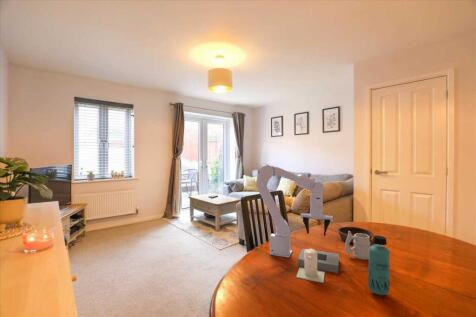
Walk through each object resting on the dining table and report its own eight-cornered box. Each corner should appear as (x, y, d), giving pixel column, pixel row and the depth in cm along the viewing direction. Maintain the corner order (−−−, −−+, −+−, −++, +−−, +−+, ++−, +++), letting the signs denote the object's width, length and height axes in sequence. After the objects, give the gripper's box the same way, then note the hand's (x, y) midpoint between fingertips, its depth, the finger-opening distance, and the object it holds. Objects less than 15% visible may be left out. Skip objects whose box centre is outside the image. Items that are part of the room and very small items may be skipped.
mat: (296, 277, 94) (296, 276, 94) (299, 268, 101) (299, 267, 101) (323, 283, 90) (323, 281, 90) (324, 273, 97) (324, 272, 97)
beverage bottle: (363, 289, 86) (364, 233, 85) (381, 288, 86) (382, 233, 86) (375, 300, 79) (376, 240, 79) (394, 299, 80) (395, 239, 79)
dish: (352, 232, 147) (352, 223, 147) (384, 245, 126) (384, 235, 126) (328, 235, 141) (328, 227, 141) (358, 250, 120) (358, 240, 120)
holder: (297, 265, 104) (297, 259, 103) (302, 254, 115) (302, 248, 114) (338, 273, 97) (338, 265, 97) (338, 260, 108) (338, 254, 108)
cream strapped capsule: (305, 269, 100) (305, 247, 100) (318, 271, 98) (318, 249, 98) (302, 277, 93) (302, 254, 93) (316, 280, 91) (316, 256, 91)
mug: (374, 259, 109) (375, 233, 109) (349, 260, 108) (349, 234, 108) (364, 252, 117) (365, 228, 116) (341, 253, 116) (341, 228, 116)
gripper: (299, 206, 114) (299, 234, 115) (332, 209, 109) (332, 239, 109) (301, 203, 121) (301, 230, 121) (332, 206, 115) (332, 234, 116)
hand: (316, 234), depth 116 cm, fingers open, 7 cm apart
